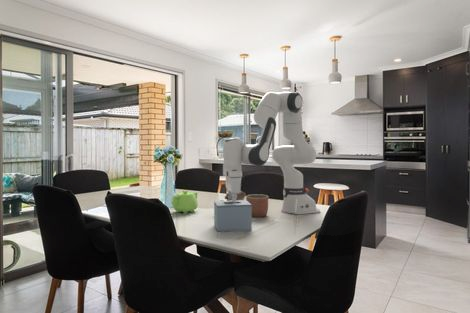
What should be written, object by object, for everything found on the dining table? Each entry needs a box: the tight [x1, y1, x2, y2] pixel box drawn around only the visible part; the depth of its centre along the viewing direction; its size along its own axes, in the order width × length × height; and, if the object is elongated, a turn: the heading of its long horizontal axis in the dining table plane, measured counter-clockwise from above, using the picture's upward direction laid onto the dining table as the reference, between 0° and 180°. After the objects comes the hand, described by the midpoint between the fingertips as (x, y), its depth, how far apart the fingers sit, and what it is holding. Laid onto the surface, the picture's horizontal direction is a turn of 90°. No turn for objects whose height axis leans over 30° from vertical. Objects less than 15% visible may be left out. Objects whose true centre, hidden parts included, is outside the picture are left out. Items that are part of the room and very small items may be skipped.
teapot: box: [171, 190, 199, 215], centre depth 188 cm, size 20×13×13 cm
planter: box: [245, 194, 269, 218], centre depth 177 cm, size 12×12×11 cm
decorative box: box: [224, 190, 247, 201], centre depth 203 cm, size 13×20×10 cm, turn 155°
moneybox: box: [213, 199, 253, 233], centre depth 152 cm, size 16×12×12 cm
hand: (232, 200), depth 152 cm, fingers open, 8 cm apart
